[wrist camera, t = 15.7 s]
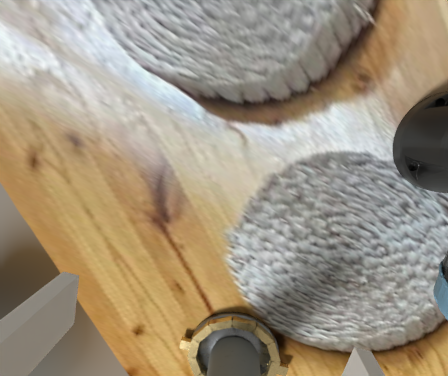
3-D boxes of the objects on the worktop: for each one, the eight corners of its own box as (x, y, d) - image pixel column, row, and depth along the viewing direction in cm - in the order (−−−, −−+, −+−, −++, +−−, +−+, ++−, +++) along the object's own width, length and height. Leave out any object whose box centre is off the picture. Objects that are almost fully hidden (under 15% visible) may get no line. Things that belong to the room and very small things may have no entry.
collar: (298, 327, 47) (301, 336, 45) (273, 396, 51) (274, 408, 49) (191, 299, 48) (188, 307, 46) (174, 370, 52) (171, 380, 50)
